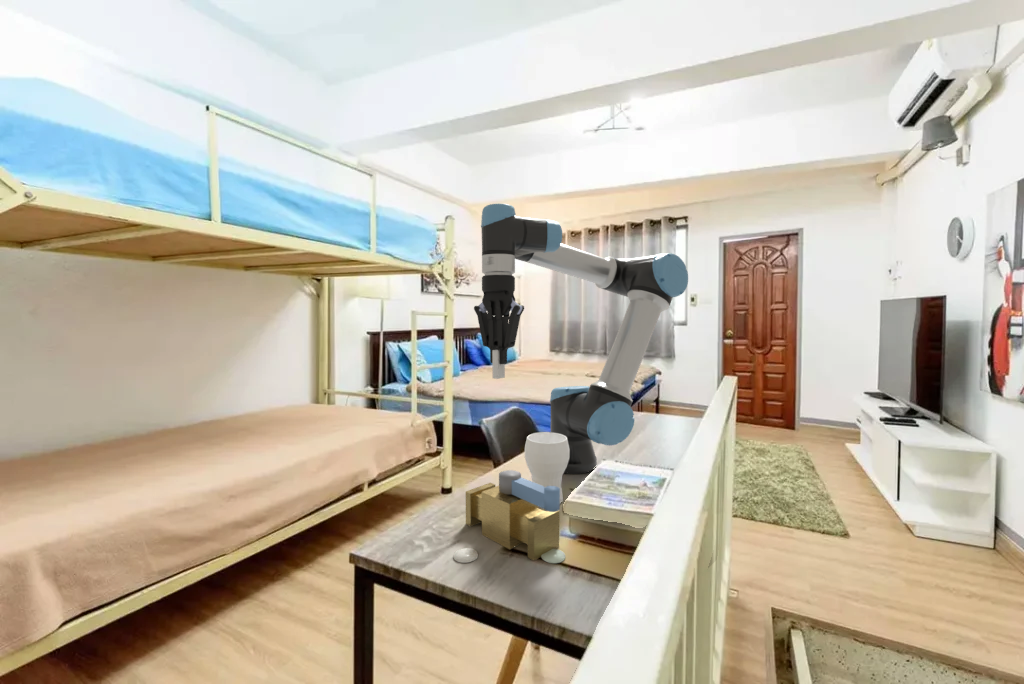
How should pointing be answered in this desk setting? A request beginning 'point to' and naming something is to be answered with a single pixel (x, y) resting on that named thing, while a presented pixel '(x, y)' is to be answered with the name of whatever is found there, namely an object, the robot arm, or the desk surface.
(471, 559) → the white domed disc
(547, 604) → the desk surface
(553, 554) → the pale green round dome
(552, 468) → the cup
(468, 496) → the valve body
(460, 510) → the desk surface
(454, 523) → the desk surface
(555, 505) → the lever
